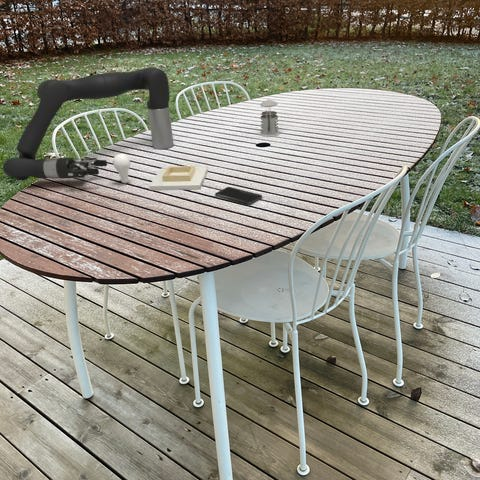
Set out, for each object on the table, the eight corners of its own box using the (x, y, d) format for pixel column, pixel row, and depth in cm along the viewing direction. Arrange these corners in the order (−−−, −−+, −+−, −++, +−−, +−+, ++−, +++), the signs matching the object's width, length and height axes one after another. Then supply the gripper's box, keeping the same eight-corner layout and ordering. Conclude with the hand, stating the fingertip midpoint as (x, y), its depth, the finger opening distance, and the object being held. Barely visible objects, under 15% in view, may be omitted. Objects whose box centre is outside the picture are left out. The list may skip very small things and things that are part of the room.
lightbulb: (117, 187, 169) (111, 158, 164) (116, 181, 175) (111, 153, 169) (134, 184, 171) (129, 155, 166) (133, 179, 176) (128, 150, 171)
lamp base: (161, 172, 181) (160, 163, 180) (207, 171, 179) (207, 162, 178) (149, 190, 165) (148, 180, 164) (200, 189, 164) (199, 179, 162)
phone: (248, 203, 149) (213, 193, 157) (249, 207, 149) (213, 197, 158) (263, 195, 154) (228, 186, 163) (263, 198, 155) (229, 189, 163)
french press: (280, 130, 223) (279, 75, 211) (279, 137, 213) (279, 80, 201) (259, 131, 224) (257, 76, 212) (258, 138, 214) (256, 81, 202)
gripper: (48, 165, 164) (93, 163, 163) (65, 152, 177) (107, 150, 175) (54, 185, 168) (97, 184, 166) (70, 171, 180) (111, 169, 179)
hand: (102, 167), depth 171 cm, fingers open, 8 cm apart
